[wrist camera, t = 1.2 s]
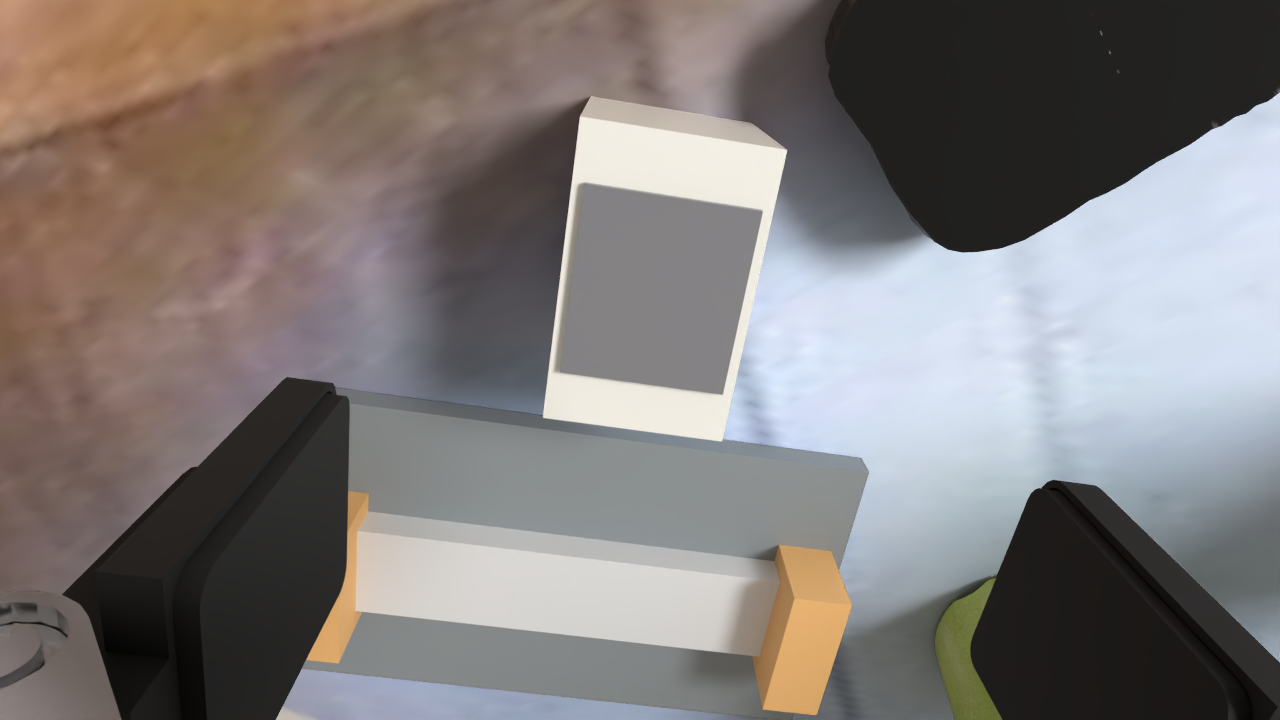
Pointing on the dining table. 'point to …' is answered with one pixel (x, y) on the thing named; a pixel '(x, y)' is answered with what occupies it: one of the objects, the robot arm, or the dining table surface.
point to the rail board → (589, 560)
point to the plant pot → (963, 657)
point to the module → (659, 267)
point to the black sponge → (1039, 98)
